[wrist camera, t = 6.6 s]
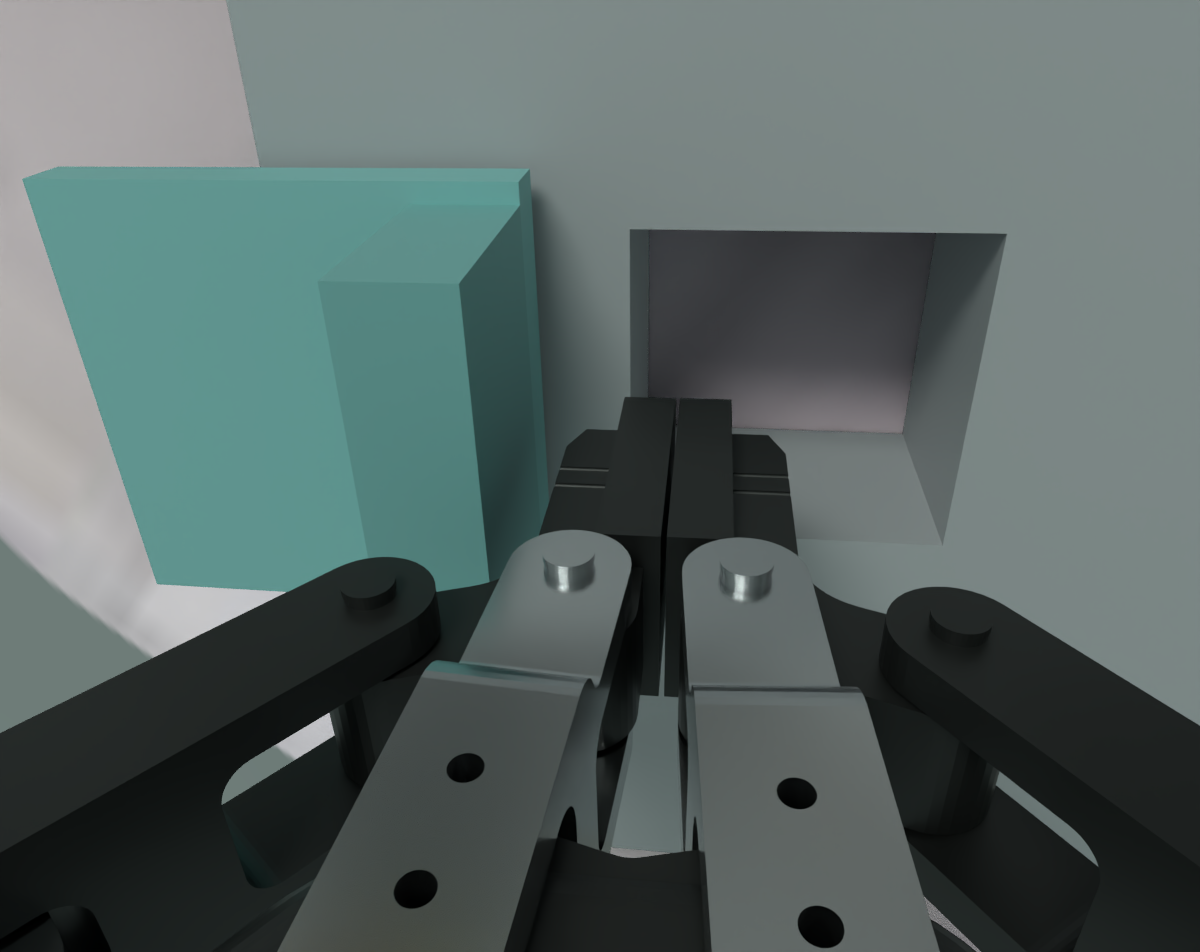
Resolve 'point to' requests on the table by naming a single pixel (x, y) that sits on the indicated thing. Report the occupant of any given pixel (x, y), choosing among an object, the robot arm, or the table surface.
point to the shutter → (309, 363)
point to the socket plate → (845, 204)
